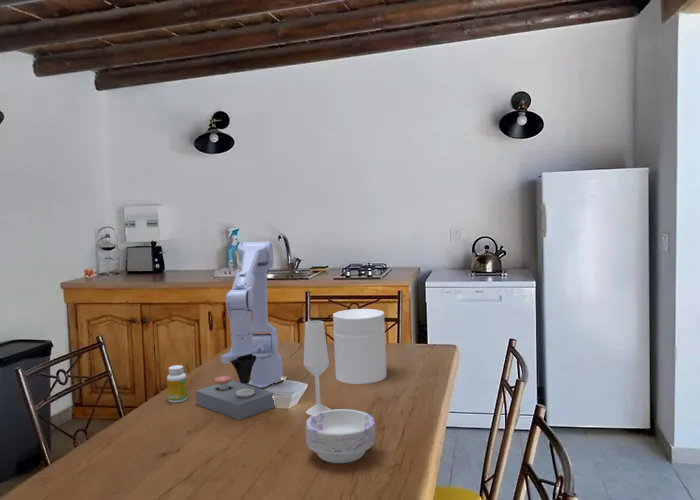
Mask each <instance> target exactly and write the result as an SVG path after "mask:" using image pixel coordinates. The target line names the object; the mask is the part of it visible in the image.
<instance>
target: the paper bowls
mask: <svg viewBox="0 0 700 500" xmlns="http://www.w3.org/2000/svg"><path fill="white" fill-rule="evenodd" d="M305 438H306V440H305V441H306V445H307V447H308V448H309V449H310V450H311V451H312V452H314V453H316V454H317V456H318V458H320V459H321V460H322V461H325V462H327V463H331V464H349V463H352V462H355V461H358V460H359V459H360V458H362V457H363V456H364V455H365V454H366V451H368V450H369V449H370V448H372V447H373V446H374V445H375V444H376V443H375V442H376V423H375V418H374V417H373V416H372V415H370V414H369V413H367V412H365V411H361V410H356V409H349V408H346V409H345V408H337V409H334V408H333V409H331V410H327V411H323V412H319V413H316V414H314V415H310V416H309V417H308V418H307V420H306V422H305Z"/></svg>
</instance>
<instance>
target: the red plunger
mask: <svg viewBox="0 0 700 500" xmlns="http://www.w3.org/2000/svg"><path fill="white" fill-rule="evenodd" d="M213 380H214V383H216V384H218V385H219V391H225V390H229V383H228V382H230V381H233V377H232V376H231V375H219V376H217V377H214V379H213Z"/></svg>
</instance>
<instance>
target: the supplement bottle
mask: <svg viewBox="0 0 700 500" xmlns="http://www.w3.org/2000/svg"><path fill="white" fill-rule="evenodd" d="M168 373H169V374H168V375H167V376H166V384H167V385H166V387H167V396H168V397H167V398H168V402H170V403H176V404H177V403H181V402H184V401H186V400H188V384H187V383H188V381H187V374H186V373H185V372H184V366H183V365H180V364H177V365H171V366H169V367H168Z"/></svg>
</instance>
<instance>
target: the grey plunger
mask: <svg viewBox="0 0 700 500" xmlns="http://www.w3.org/2000/svg"><path fill="white" fill-rule="evenodd" d="M252 395H254V390H253V389H240V390H238V391H236V396H238V397H240V398H247V397H250V396H252Z"/></svg>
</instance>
